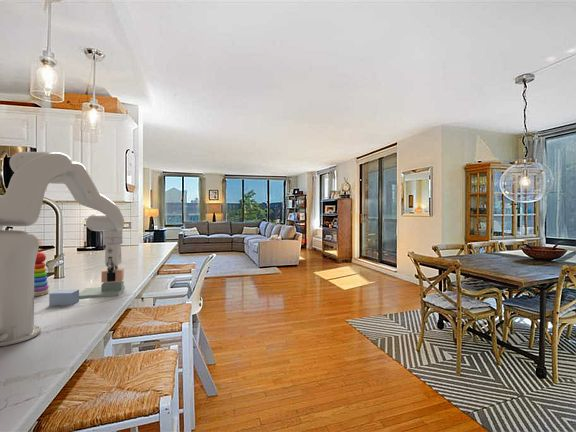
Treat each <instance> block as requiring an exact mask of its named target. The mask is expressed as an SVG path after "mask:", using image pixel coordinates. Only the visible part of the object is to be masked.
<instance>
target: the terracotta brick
mask: <svg viewBox="0 0 576 432" xmlns="http://www.w3.org/2000/svg"><path fill="white" fill-rule="evenodd" d="M124 270H125V269H124V268H118V269H115V281H111V282H117V281H124V277H125V276H124V272H125V271H124ZM104 282H107V269H103V270H102V271H101V282H100V283H101V284H103V283H104Z"/></svg>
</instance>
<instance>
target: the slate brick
mask: <svg viewBox="0 0 576 432" xmlns="http://www.w3.org/2000/svg"><path fill="white" fill-rule="evenodd" d="M79 293H80V289H56V290H54V291H52V292H50V293H49V292H48V294H49V296H48V298H49V302H48V304H49V305H48V306H49V307H55V306H54V305H61V306H73V305H74V304H76V303H78V302H79V301H80V298H79Z"/></svg>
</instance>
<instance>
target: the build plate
mask: <svg viewBox="0 0 576 432" xmlns="http://www.w3.org/2000/svg"><path fill="white" fill-rule="evenodd" d="M125 288H126V287H125V280H122V281H117V282H102V283H101V286H100V287H99V286H98V287H87V288H85V289H83V290H82V291H80V292H79V299H88V298H90V299H91V298H100V297H101V298H102V297H114V296H119V295H121V293H122V292H123V291H124V289H125Z"/></svg>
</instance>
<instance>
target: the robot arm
mask: <svg viewBox="0 0 576 432" xmlns="http://www.w3.org/2000/svg"><path fill="white" fill-rule="evenodd" d="M9 167H10V168H11V170H12V172H14V173H13V175H12V176H11V178H10V181H9V183H8V187H7V189H6V191H5V193H4V194H0V347H4V346H5V347H6V346H10V345H14V344H18V343H21V342H25V341H28V340H30V339H33V338H34V337H37V336H38V335H39V334H40V333H41V331H42V330H41V329H42V328H41V326H39V325H35V296H34V268H35V261H36V257H37V253H38V252H39V246H40V245H39V243H40V242H39V240H38V238H37V237H36V236H35V235H34V234H32V233H31V232H28V231H25V230H24V231H23V230H15V229H9V230H8V229H7V230H6V229H3V228H4V227H30V226H33V225H34V224H36V223H37V222H38V220H39V217H40V215H41V211H42V205H43V202H44V198H45V194H46V190H47V187H48V185H49V184H53V185H54V184H63V185H65V187H67V189H68V191H69V192H70V194H71V196H72V198H73V199H74V201H75V202H76V203H77V204H79V205H81V206H83V207H86V208H90V209H93V210H95V211H98V212H100V213H94V214H91V215H89V216H88V217H87V219H86V220H85V226H86V227H87V228H88V230H90V231H92V232H93V231H94V232H103V239H102V240H103V245H105V255H104V258H105V259H104V264H105V267H107V282H111V281H115V269H119V265H120V264H121V263H122V260H123V259H122V245H123V229H124V226H125V219H124V216H123V214H122V212H121V209H120V208H119V206H118V205H117V204H116V203H115V202H113V201H112V200H111V199H109V197H106V196H105V195H104V194H101V193H100V192H99V190H98V189H97V186H96V184H95V182H94V181H93V178H92V177H91V175H90V173H89V172H88V170H87V168H86V167H85V166H84V165H83V164H82V163H81V162H78V161H72V159H71V157H70V156H69V155H68V154H65V153H63V152H61V151H59V152H58V151H19V152H16V153H14V154H13V155H12V156H11V157H10V158H9Z"/></svg>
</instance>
